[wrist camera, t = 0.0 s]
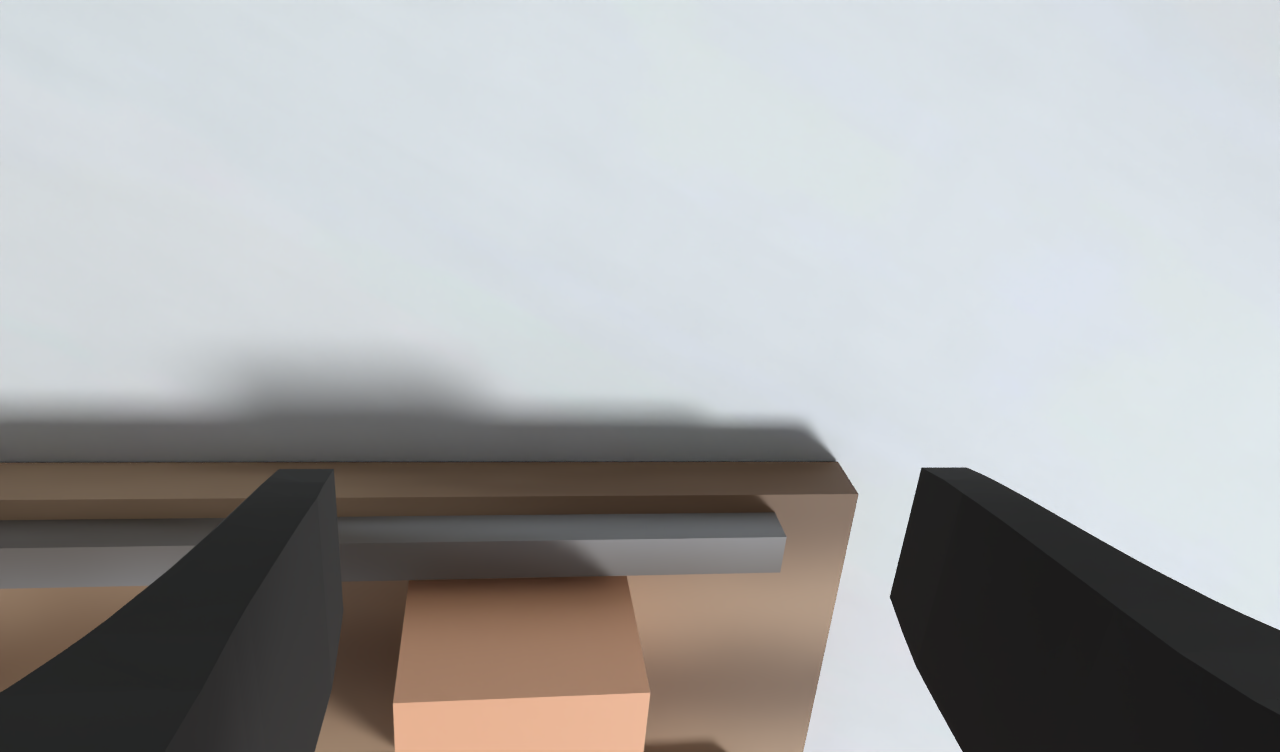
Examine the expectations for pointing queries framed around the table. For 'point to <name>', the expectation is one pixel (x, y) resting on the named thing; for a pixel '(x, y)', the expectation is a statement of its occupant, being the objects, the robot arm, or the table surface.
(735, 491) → the keeper track
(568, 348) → the table surface
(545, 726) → the block
